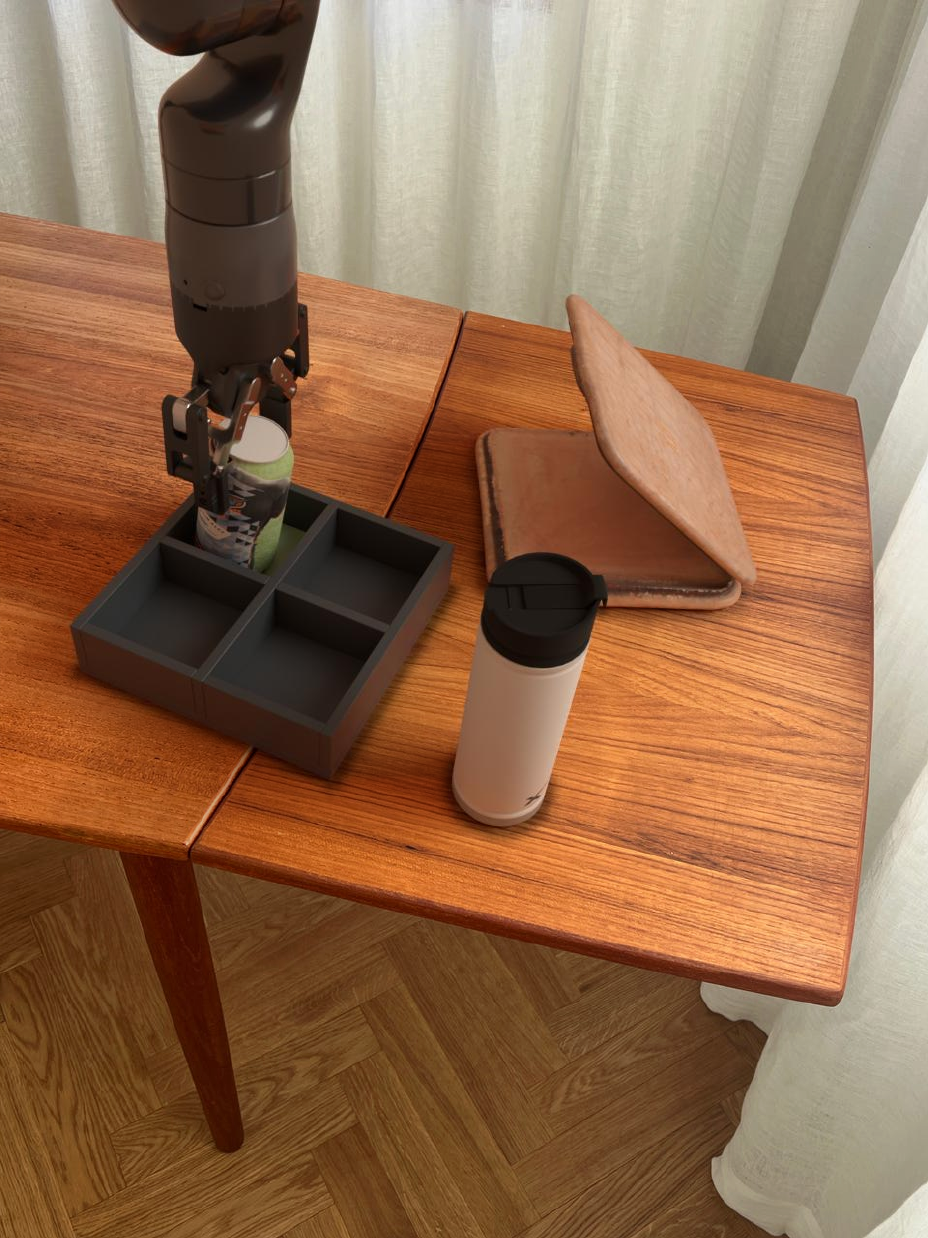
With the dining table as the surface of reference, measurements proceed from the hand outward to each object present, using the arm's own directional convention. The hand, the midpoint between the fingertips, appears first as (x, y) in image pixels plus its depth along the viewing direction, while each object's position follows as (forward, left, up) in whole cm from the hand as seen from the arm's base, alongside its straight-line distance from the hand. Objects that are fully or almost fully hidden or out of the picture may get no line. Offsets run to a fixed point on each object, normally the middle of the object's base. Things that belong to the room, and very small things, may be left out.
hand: (245, 472), depth 78 cm
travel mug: (+25, -10, -10) cm, 28 cm away
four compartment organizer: (+5, -5, -10) cm, 12 cm away
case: (+23, +18, -10) cm, 31 cm away
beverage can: (0, 0, -8) cm, 8 cm away
